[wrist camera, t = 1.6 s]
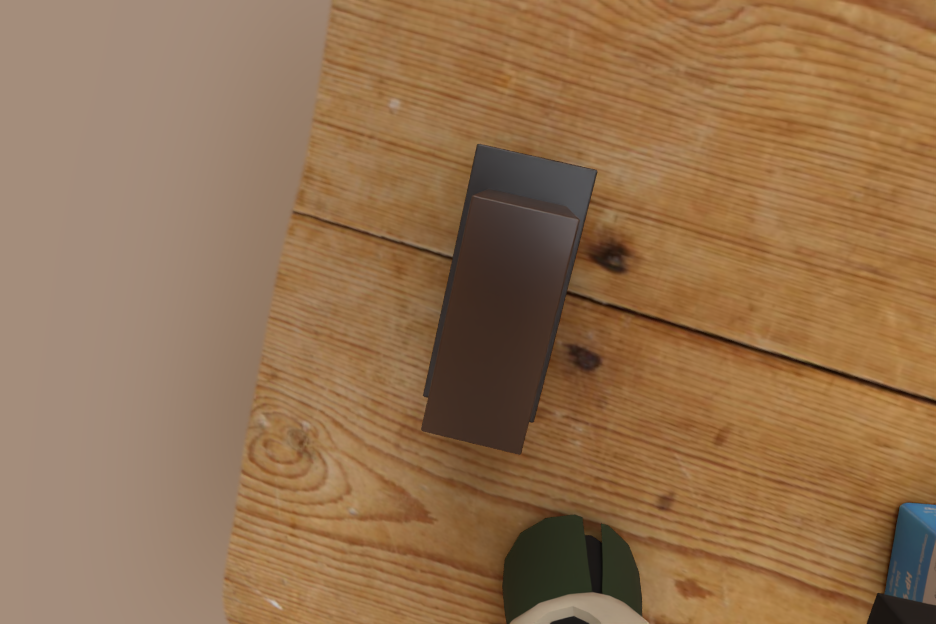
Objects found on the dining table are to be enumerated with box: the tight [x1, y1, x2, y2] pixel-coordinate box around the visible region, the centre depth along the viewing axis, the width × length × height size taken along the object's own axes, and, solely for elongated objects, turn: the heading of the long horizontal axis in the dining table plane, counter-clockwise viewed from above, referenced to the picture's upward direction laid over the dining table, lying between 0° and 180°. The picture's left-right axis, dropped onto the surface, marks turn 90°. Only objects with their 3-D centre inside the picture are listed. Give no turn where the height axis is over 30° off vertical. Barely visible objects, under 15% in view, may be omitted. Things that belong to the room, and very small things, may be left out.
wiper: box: [421, 144, 597, 455], centre depth 25 cm, size 4×10×11 cm, turn 168°
